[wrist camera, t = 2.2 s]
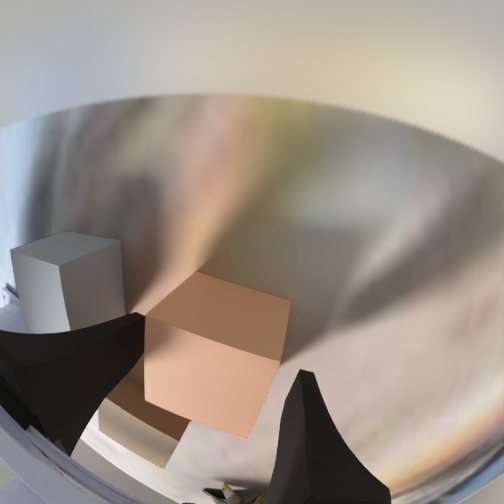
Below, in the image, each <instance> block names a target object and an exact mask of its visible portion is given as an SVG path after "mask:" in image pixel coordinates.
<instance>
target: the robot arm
mask: <svg viewBox="0 0 504 504" xmlns="http://www.w3.org/2000/svg"><path fill="white" fill-rule="evenodd" d="M2 295H3V300H4V305H5V306H4V307H2V308H0V459H1V460H2V461H3V462H4V463H5V465H6V466H8V468H9V469H10V470H11V471H12V472H13V473H14V474H15V476H13V478H12V479H11V480H10V481H9V482H8V483H7V484H6V485H5V486H4V488H3V489H2V490H1V491H0V504H105V503H103V502H101V501H100V500H98V499H96V498H95V497H93V496H92V495H90V494H88V493H87V492H85V491H84V490H82V489H81V488H80V487H78V486H77V485H75V484H74V483H72V482H71V481H70V480H68V479H67V478H66V477H64V475H63V473H62V472H61V471H60V470H62V471H63V472H64V473H66V474H67V475H68V476H70V477H71V478H72V479H74V480H75V481H77V482H78V483H80V484H81V485H82V486H84V487H86V488H87V489H88V490H90V491H92V492H93V493H95V494H96V495H98V496H99V497H101V498H103V499H104V500H106V501H108V502H110V503H111V504H148V503H146V502H144V501H142V500H140V499H137V498H136V497H134V496H132V495H130V494H128V493H126V492H124V491H122V490H120V489H118V488H117V487H115V486H113V485H111V484H110V483H108V482H106V481H104V480H103V479H101V478H100V477H98V476H97V475H95V474H93V473H92V472H90V471H89V470H87V469H86V468H84V467H83V466H81V465H80V464H79V463H77V462H76V461H74V460H73V459H72V458H70V456H71V454H72V452H73V450H74V448H75V446H76V444H77V442H78V440H79V438H80V436H81V435H82V433H83V431H84V429H85V428H86V426H87V424H88V423H89V421H90V419H91V418H92V416H93V415H94V413H95V412H96V410H97V409H98V407H99V406H100V405H101V403H102V402H103V400H104V399H105V398H106V397H107V395H108V394H109V393H110V392H111V391H112V390H113V389H114V388H115V387H116V385H117V384H118V383H119V382H120V381H121V380H122V379H123V378H124V377H125V376H126V375H127V374H128V373H129V371H130V370H131V369H132V368H133V367H134V366H135V365H136V363H137V362H138V361H139V359H140V358H141V356H142V355H143V353H144V347H145V317H146V316H144V315H141V314H139V313H137V312H134V313H131V314H128V315H125V316H121V317H118V318H115V319H112V320H109V321H106V322H103V323H100V324H96V325H93V326H89V327H85V328H81V329H77V330H72V331H66V332H58V333H44V334H35V333H34V332H32V331H31V330H29V329H27V327H26V323H25V320H24V316H23V312H22V309H21V305H20V300H19V299H18V298H17V297H16V296H15V295H14V294H12V293H11V292H10V291H9V290H8V289H7V288H5V287H4V288H2ZM52 463H53V464H52ZM57 467H58V468H59V469H60V470H59V469H58V468H57ZM264 504H391V495H390V490H389V488H388V487H386V486H385V485H384V484H383V483H382V482H380V481H379V480H378V479H377V478H376V477H374V476H373V475H372V474H371V473H370V472H369V471H368V470H367V469H366V468H365V467H364V466H363V464H362V463H361V462H360V461H359V460H358V459H357V457H356V456H355V455H354V454H353V452H352V451H351V450H350V449H349V447H348V446H347V444H346V443H345V442H344V440H343V438H342V437H341V435H340V433H339V432H338V430H337V428H336V426H335V424H334V422H333V420H332V418H331V416H330V414H329V412H328V410H327V407H326V405H325V403H324V400H323V398H322V395H321V392H320V390H319V387H318V384H317V381H316V378H315V375H314V373H313V372H309V371H305V370H301V369H300V370H299V372H298V374H297V377H296V379H295V381H294V383H293V385H292V387H291V389H290V391H289V393H288V395H287V397H286V400H285V404H284V408H283V412H282V416H281V422H280V430H279V439H278V447H277V455H276V461H275V467H274V470H273V474H272V478H271V481H270V485H269V488H268V492H267V495H266V498H265V501H264Z"/></svg>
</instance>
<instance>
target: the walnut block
mask: <svg viewBox="0 0 504 504" xmlns="http://www.w3.org/2000/svg"><path fill="white" fill-rule="evenodd" d="M98 411H99V430H100V431H101V432H102V433H104V434H105V435H107V436H108V437H110V438H111V439H113V440H114V441H116V442H117V443H119V444H121V445H122V446H124V447H125V448H127V449H129V450H130V451H132V452H134V453H135V454H137V455H139V456H141V457H142V458H144V459H146V460H148V461H150V462H152V463H153V464H155V465H157V466H159V467H161V468H163V469H164V468H165V466H166V465H167V463H168V461H169V459H170V457H171V455H172V454H173V452H174V450H175V448H176V446H177V445H178V443H179V441H180V439H181V437H182V435H183V433H184V431H185V430H186V428H187V426H188V424H189V422H190V419H187V418H184V417H182V416H180V415H177V414H175V413H172V412H170V411H168V410H165V409H163V408H161V407H159V406H156V405H154V404H152V403H150V402H148V401H146V400H145V382H144V353H143V355H142V356H141V358H140V359H139V361H138V362H137V363H136V365H135V366H134V367H133V368H132V369H131V370H130V371H129V373H128V374H127V375H126V376H125V377H124V378H123V379H122V380H121V381H120V382H119V383H118V384H117V385H116V387H115V388H114V389H113V390H112V391H111V392H110V393H109V394H108V395H107V397H106V398H105V399H104V400H103V402H102V403H101V405H100V406H99V407H98Z"/></svg>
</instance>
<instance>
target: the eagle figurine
mask: <svg viewBox="0 0 504 504" xmlns="http://www.w3.org/2000/svg"><path fill="white" fill-rule="evenodd" d="M202 491H203V492H204V493H206V494H207V495H209V496H211V497H212V499H213V501H214V502H215V503H216V504H264V501H265V498H266V495H267V492H268V490H265V491H264V492H261V493H260V494H259V495H258V496H257V497H256V498H255V499H254V500H251V501H248V502H246V501H245V500H243V499H242V498H241V497H240V496H238V495H236V494H235V493H234V492H233V491H232V489H231V488H229V487H228V485H227V483H226V482H224V483H223V488H222V491H223V493H224V496H225V498H226V500H227V502H226V501H224V500H222V499H220V498H218V497H215V496H213V495H212V494H210V493H208V492H207V491H205V490H202ZM182 504H194V503H182Z"/></svg>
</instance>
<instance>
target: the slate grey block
mask: <svg viewBox="0 0 504 504" xmlns="http://www.w3.org/2000/svg"><path fill="white" fill-rule="evenodd" d="M10 252H11V259H12V266H13V271H14V277H15V282H16V287H17V292H18V296H19V300H20V305H21V309H22V312H23V316H24V320H25V323H26V327H27V329H29V330H31V331H32V332H34V333H35V334H44V333H58V332H66V331H72V330H77V329H81V328H85V327H89V326H93V325H96V324H100V323H103V322H106V321H109V320H112V319H115V318H118V317H121V316H125V315H126V307H125V297H124V286H123V273H122V255H121V240H117V239H111V238H105V237H99V236H93V235H87V234H81V233H76V232H70V231H65V232H62V233H59V234H55V235H52V236H49V237H46V238H43V239H40V240H37V241H34V242H31V243H28V244H25V245H22V246H19V247H16V248H14V249H11V250H10Z"/></svg>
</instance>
